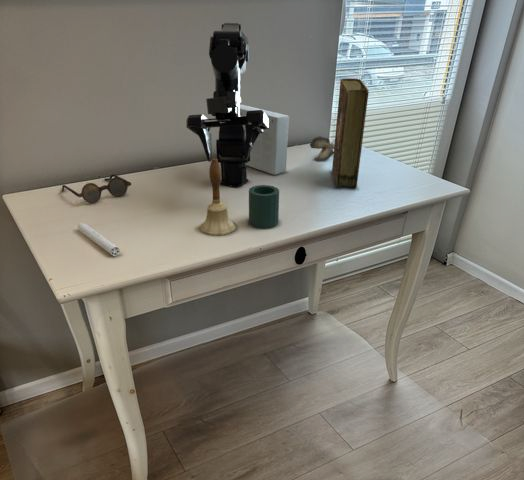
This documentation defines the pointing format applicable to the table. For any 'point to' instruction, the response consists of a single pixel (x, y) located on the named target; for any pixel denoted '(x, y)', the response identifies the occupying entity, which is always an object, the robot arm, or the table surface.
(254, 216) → the jar
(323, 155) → the open clam shell
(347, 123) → the book
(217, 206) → the hand bell
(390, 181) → the table surface
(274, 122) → the skincare box
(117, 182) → the eyeglasses
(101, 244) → the white cylindrical rod
